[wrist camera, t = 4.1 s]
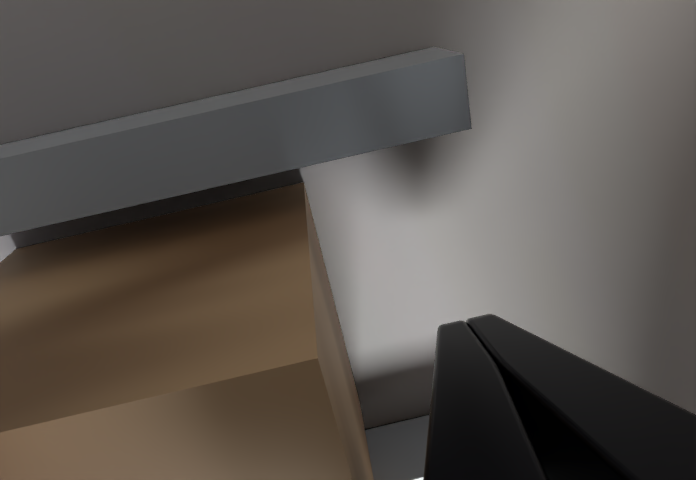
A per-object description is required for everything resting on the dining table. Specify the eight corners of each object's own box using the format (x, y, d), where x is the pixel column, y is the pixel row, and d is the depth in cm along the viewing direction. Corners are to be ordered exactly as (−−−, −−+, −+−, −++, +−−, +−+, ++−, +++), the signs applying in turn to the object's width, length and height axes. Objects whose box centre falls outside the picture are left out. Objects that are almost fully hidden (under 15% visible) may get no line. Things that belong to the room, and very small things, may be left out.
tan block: (303, 180, 9) (318, 358, 4) (359, 401, 11) (408, 677, 6) (19, 246, 9) (-270, 495, 4) (129, 455, 11) (13, 773, 6)
